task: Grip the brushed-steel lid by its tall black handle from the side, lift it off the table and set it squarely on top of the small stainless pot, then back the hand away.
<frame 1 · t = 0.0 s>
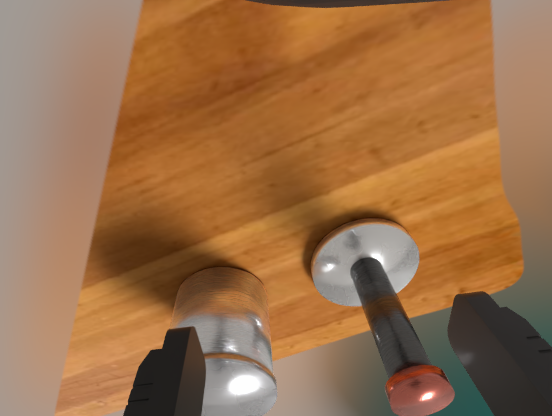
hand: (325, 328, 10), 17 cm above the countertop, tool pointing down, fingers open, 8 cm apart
lid: (362, 260, 32), on the countertop
pot: (222, 300, 34), on the countertop
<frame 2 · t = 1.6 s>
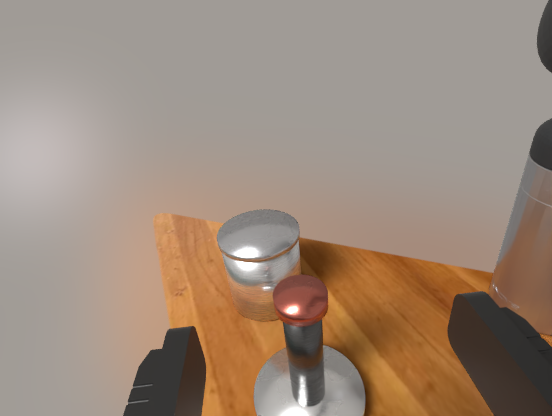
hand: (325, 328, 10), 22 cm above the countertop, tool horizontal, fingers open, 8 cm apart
lid: (309, 397, 31), on the countertop
pot: (267, 293, 43), on the countertop
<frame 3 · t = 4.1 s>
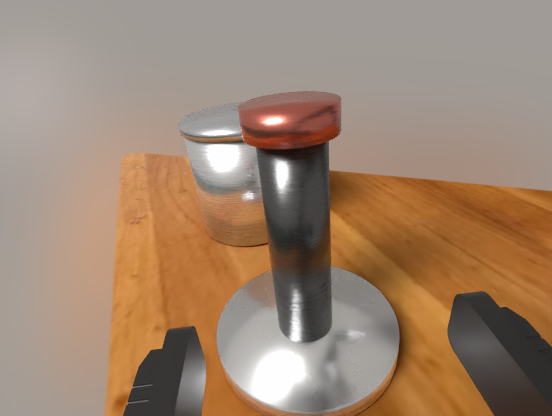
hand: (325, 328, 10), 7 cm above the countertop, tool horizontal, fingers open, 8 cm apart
lid: (306, 334, 19), on the countertop
pot: (252, 217, 32), on the countertop
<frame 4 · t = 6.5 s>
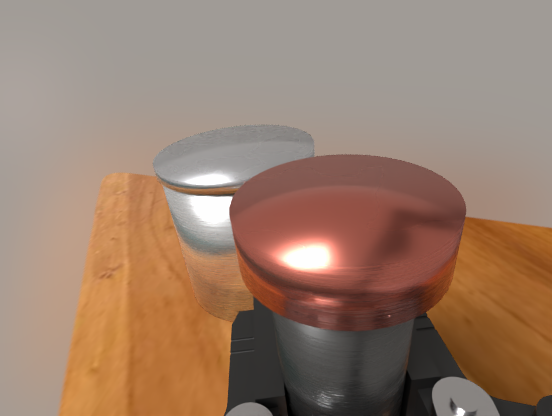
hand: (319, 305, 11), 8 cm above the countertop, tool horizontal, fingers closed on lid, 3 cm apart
pot: (255, 273, 25), on the countertop
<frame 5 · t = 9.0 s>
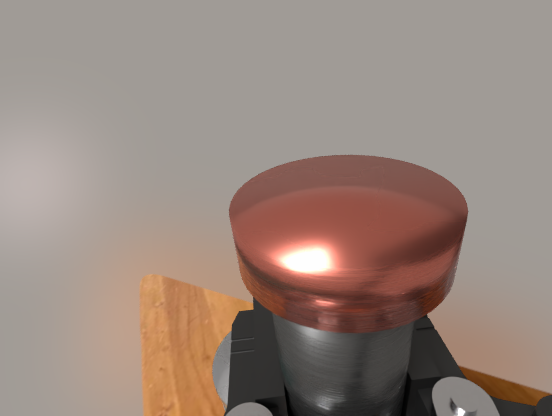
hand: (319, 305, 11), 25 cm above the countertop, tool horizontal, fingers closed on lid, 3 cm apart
when the fingers open (18 cm above the countertop, at t = 11.5 s): lid drops 1 cm, resting on pot.
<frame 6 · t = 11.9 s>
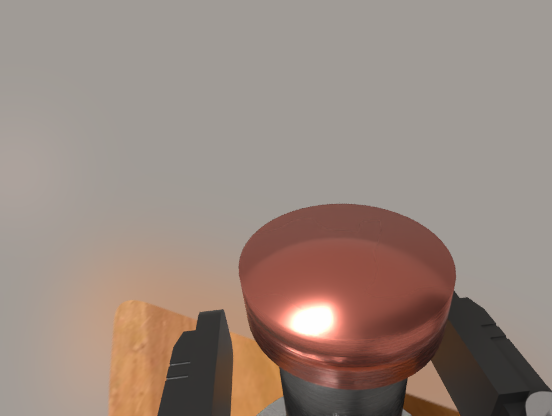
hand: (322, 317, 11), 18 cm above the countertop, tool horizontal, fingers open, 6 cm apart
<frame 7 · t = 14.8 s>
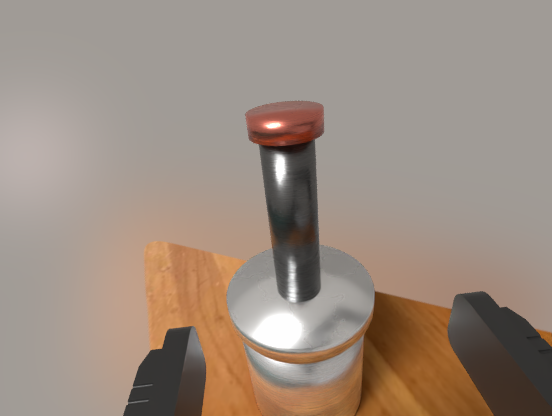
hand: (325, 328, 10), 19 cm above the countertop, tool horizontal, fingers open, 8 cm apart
lid: (300, 298, 24), point 10 cm above the countertop, touching pot
pot: (306, 382, 28), on the countertop
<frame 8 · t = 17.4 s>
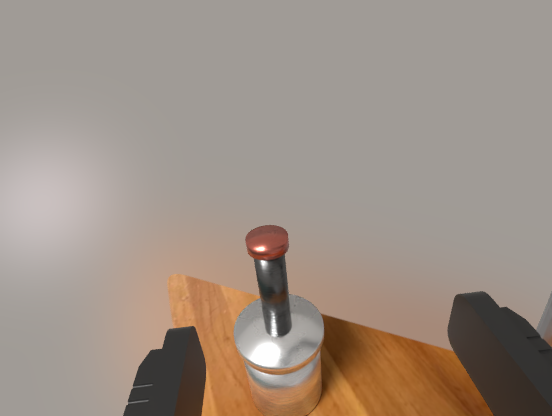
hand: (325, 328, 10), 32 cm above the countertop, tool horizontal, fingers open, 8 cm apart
lid: (279, 333, 38), point 10 cm above the countertop, touching pot
pot: (286, 384, 43), on the countertop
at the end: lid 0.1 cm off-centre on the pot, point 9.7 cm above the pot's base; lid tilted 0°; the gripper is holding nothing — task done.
